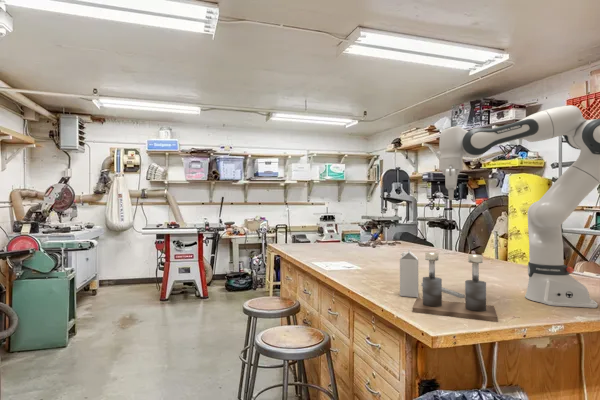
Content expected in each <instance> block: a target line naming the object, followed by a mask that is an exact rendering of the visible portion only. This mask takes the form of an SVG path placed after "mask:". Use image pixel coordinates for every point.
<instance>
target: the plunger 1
mask: <svg viewBox="0 0 600 400" xmlns="http://www.w3.org/2000/svg"><path fill="white" fill-rule="evenodd" d="M424 256H425V260H426V261H428V277H429V278H435V277H436V262H437V261H439V258H440V257H439V252H435V251H434V252H432V251H431V252H430V251H426V252H425V255H424Z"/></svg>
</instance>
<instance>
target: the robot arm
mask: <svg viewBox="0 0 600 400" xmlns="http://www.w3.org/2000/svg"><path fill="white" fill-rule="evenodd" d="M557 137H563V138H564V140H565V142H566V143H567V145H568V146H570V147H571V148H573V149H575V150H579V151H580V153H579V155H578V157H577V159H576V160H575V161H574V162H573V163H572V164H571V165H570V166H568V168H567V169H566V170H565V171H564V172H563V173H562V174H561V175H560V176H559V177H558V178H557V179H556V180H555V181H554V182H553V184H552V185H551V186H550V187H549V189H548V190H547V191H546V192H544V194H543V195H542V197H540V198H539V200H537V201H534V202H533V203H532V204H531V205H530V206H529V207H528V209H527V228H528V245H529V248H528V249H529V258H528V259H529V261H528V264H527V275H528V283H527V288H526V289H527V290H526V293H525V295H524V297H525V299H528V300H531V301H533V302H537V303H542V304H545V305H548V306H557V307H573V308H574V307H576V308H589V309H590V308H594V309H595V308H598V305H599V304H598V302H596V301H595V300H594V299H591V298H590V293H589V290H588V288H587V287H586V286H585V285H584V284H583V283H582V282H581V281H579V280H577V279H576V278H575V277H573V276H572V275H571V274H572V273H574V272H575V269H574V268H573V267H571V266H567V265H566V264H564V263H565V262H564V242H563V241H564V240H563V233H562V226H561V225H563V224H564V222H565V221H566V220H567V219H568V218H569V217H570V216H571V215H572V214H573V212H574V211H575V210H576V209H577V207H579V205H580V204H581V202H582V201H583V200H584V199H585V198H587V196H588V195H589V194H590V193H591V192H592V191H594V190H595V188H596V187H597V186H598V185H599V184H600V118H593V119H585V117H584V116H583V113H582V111H581V109H580V108H579V107H578V106H575V105H562V106H555V107H551V108H547V109H544V110H541V111H537V112H535V113H532V114H530V115H528V116H526V117H524V118H522V119H520V120H518V121H516V122H515V121H514V122H512V123H508V124H504V125H500V126H497V127H492V128H482V127H476V128H472V129H470V130H466V129H465V128H462V127H461V126H459V125H455V126H454V125H451V126H449V127H446V128H444V129H443V130H442V131H441V132H440V135H439V144H438V145H439V146H438V148H439V153H440V154H439V155H440V156H439V158H438V159H439V161H438V163H439V165H438V166H439V172H442V175H443V176H445V177H444V179H445V182H444V183H445V189H446V190H447V191H448V192H447V195H448V200H449V201H453V200H454V197H455V196H454V195H455V193H454V192H455V190H457V183H458V177H459V175H460V172H461V171H463V170H464V169H463V168H464V165H463V161H464V158H470V159H476V158H479V157H481V156H483V155H484V154H485V153H486V152H488V151H490V150H491V149H492V148H494V147H495V146H497V145H498V146H499V145H501V144H502V145H503V144H505V143H509V142H512V141H516V140H525V141H527V142H530V143H534V142H542V141H543V142H544V141H546V140H550V139H553V138H557ZM463 157H464V158H463Z"/></svg>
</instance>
